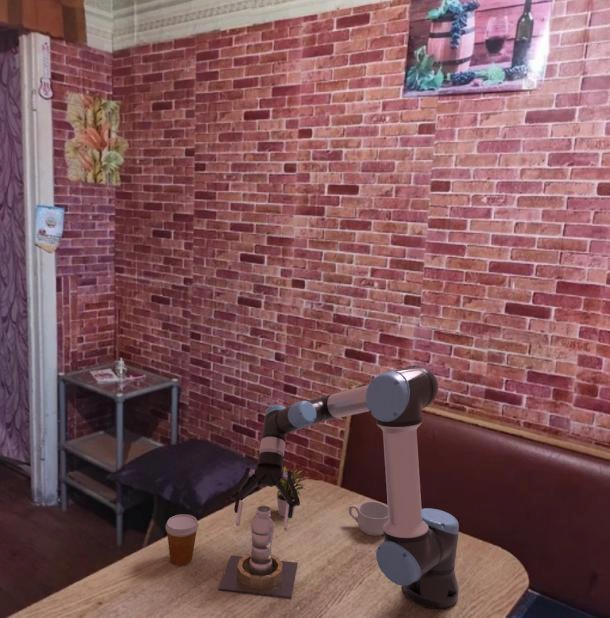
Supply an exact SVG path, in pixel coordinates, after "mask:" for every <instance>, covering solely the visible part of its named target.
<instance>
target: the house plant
mask: <svg viewBox="0 0 610 618" xmlns="http://www.w3.org/2000/svg"><path fill="white" fill-rule="evenodd" d="M295 469H296V470H295V471H293V472H292V473H293V474H292V481H293V484H294V486H295V489H296V492H297V494H298V497H301V493H300V492H299V490H306V486H308V485H306V484H305V485H304V484H302V483H300V482H302V481H307V478H309V476H303V477H301V478H299V476H300V474H301V473H302V471H303V469H301V470H299V471H298V468H295ZM288 471H289V470H288V468H287V467H286V466H285V465H284V467H283V473H288ZM298 478H299V479H298ZM280 483H281V484H282V486H283V487H284V489H285V490H286V492H287V493H288V495H289V496H290V498H291V499H292V501H294V498H293V495H292V492H291V489H290V487H289V484H288V480H285V478H284V477H282V479H281V480H280ZM276 493H277V495H276V501H277V508H278V515H280V516H281V517H284V518H285V512H286V504H287V505H289V504H288V503H287V501H286V500H285V499H284V497H283V496H282V494H281V493H280V491H279V490H277V492H276ZM295 510H296V506H294V508H293V515H292V517H293V516H294V514H295Z"/></svg>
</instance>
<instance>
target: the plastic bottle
mask: <svg viewBox="0 0 610 618" xmlns="http://www.w3.org/2000/svg"><path fill="white" fill-rule="evenodd" d="M256 510H257V511H256V517H255V518H254V519H253V521H252V522H251V524H250V532H251V534H250V535H251V553H250V554H251V558H250V562H249V571H250V573H251V575H255V576H266V575H270V574H271V571H272V559H271V555H272V545H273V543H272V542H273V538H274V532H275V523H274V522H273V519H272V518H271V514H272V513H271V512H272V511H271V510H272V509H271V508H270V507H269V506H267V505H260V506H258V507H257V509H256Z"/></svg>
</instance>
